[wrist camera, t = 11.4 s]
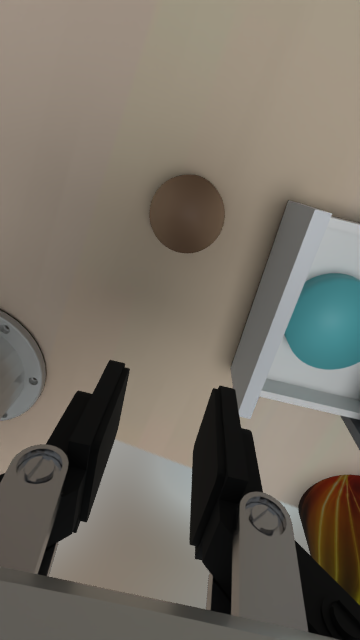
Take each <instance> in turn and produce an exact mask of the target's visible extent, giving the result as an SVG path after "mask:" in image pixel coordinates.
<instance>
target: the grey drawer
mask: <svg viewBox="0 0 360 640" xmlns="http://www.w3.org/2000/svg"><path fill="white" fill-rule="evenodd" d="M329 273H341V274H347V275H350V276H353V277H355V278H357V279H359V280H360V223H357V222H353V221H349V220H345V219H341V218H337V217H333V216H332V213H329V212H326V211H323V210H320V209H317V208H314V207H311V206H308V205H305V204H301V203H297V202H294V201H290V200H288V203H287V206H286V209H285V212H284V215H283V218H282V221H281V223H280V226H279V229H278V232H277V235H276V238H275V241H274V244H273V247H272V250H271V252H270V255H269V258H268V261H267V264H266V267H265V270H264V273H263V276H262V279H261V282H260V284H259V287H258V290H257V293H256V296H255V299H254V302H253V305H252V308H251V311H250V314H249V316H248V319H247V322H246V325H245V328H244V331H243V334H242V337H241V340H240V343H239V346H238V348H237V351H236V354H235V357H234V360H233V363H232V366H231V376H232V383H233V389H235V391H236V397H237V404H238V411H239V416H240V417H244V418H248V419H250V418H251V416H252V413H253V411H254V408H255V406H256V403H257V401H258V398H259V396H260V397H264V398H268V399H272V400H277V401H281V402H285V403H290V404H294V405H298V406H303V407H307V408H311V409H315V410H320V411H324V412H328V413H333V414H337V415H341V416H345V417H350V418H354V419H358V420H360V362H359V363H357V364H354V365H352V366H349V367H346V368H342V369H334V370H325V369H318V368H315V367H312V366H309V365H307V364H305V363H304V362H302V361H301V360H300V359H298V358H297V356H296V355H295V354H294V353H293V351H292V350H291V348H290V346H289V344H288V342H287V340H286V338H285V335H284V333H285V331H286V328H287V326H288V323H289V321H290V318H291V316H292V313H293V311H294V308H295V306H296V303H297V301H298V298H299V296H300V293H301V291H302V288H303V286H304V283H305V282H306V281H307V280H309V279H311V278H314V277H316V276H319V275H323V274H329Z"/></svg>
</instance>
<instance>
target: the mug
mask: <svg viewBox="0 0 360 640" xmlns="http://www.w3.org/2000/svg"><path fill="white" fill-rule="evenodd" d="M299 515H300V519H301V522H302V526H303V529H304V533H305V537H306V540H307V544H308V547H309V551H310V554H311V557H312V558H313V559H314V560H315V561H316V562H317V563H318V564H319V565H320V566H321V567H322V568H323V569H324V570H325V571H326V572H327V573H328V574H329V575H330V576H331V577H332V578H333V579H334V580H335V581H336V582H337V583H338V584H339V585H340V586H341V587H342V588H343V589H344V590H345V591H346V592H347V593H348V594H349V595H350V596H351V597H352V598H353V599H354V600H355V601H356V602H357V603H358V604H359V605H360V476H359V475H339V476H334V477H330V478H327V479H324V480H322V481H320V482H318V483H316V484H314V485H313V486H312V487H310V488H309V489H308V490H307V491H306V492H305V493H304V494H303V496H302V498H301V500H300V503H299Z"/></svg>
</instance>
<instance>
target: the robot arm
mask: <svg viewBox="0 0 360 640" xmlns="http://www.w3.org/2000/svg"><path fill="white" fill-rule="evenodd" d="M129 371H130V369H129V368H125V363H121V362H117V361H112V360H110V361H109V362H108V364H107V366H106V368H105V370H104V372H103V374H102V376H101V378H100V380H99V382H98V384H97V386H96V388H95V390H94V392H93V394H90V393H86V392H81V391H77V392H76V394H75V395H74V397H73V399H72V400H71V402H70V404H69V405H68V407H67V409H66V411H65V412H64V414H63V416H62V418H61V419H60V421H59V423H58V424H57V426H56V428H55V430H54V431H53V433H52V435H51V436H50V438H49V440H48V442H47V443H46V445H44V444H40V445H35V446H31V447H28V448H26V449H24V450H22V451H21V452H20V453H18V454H17V455H16V456H15V457H14V459H13V460H12V461H11V463H10V465H9V467H8V469H7V471H6V473H4V474H1V475H0V640H360V605H359V604H358V603H357V602H356V601H355V600H354V599H353V598H352V597H351V596H350V595H349V594H348V593H347V592H346V591H345V590H344V589H343V588H342V587H341V586H340V585H339V584H338V583H337V582H336V581H335V580H334V579H333V578H332V577H331V576H330V575H329V574H328V573H327V572H326V571H325V570H324V569H323V568H322V567H321V566H320V565H319V564H318V563H317V562H316V561H315V560H314V559H313V558H312V557H311V556H310V555H309V554H308V553H307V552H306V551H305V550H304V549H303V548H302V547H301V546H300V545H299V544H298V543H297V542H296V541H295V540H294V533H293V527H292V522H291V519H290V515H289V514H288V512H287V511H286V509H285V507H283V505H282V504H281V503H280V502H279V501H278V500H276V499H275V498H273V497H272V496H270V495H268V494H266V493H263V491H262V485H261V480H260V474H259V469H258V463H257V458H256V452H255V447H254V442H253V436H252V432H251V431H250V430H247V429H243V428H241V425H240V418H239V411H238V404H237V397H236V391H235V389H232V388H228V387H224V386H219V388H218V389H215V388H213V390H212V393H211V396H210V399H209V402H208V405H207V408H206V411H205V414H204V417H203V420H202V423H201V426H200V429H199V432H198V435H197V438H196V441H195V445H194V450H193V466H192V492H191V518H190V545H194V546H195V559H199V560H202V562H203V563H204V565H205V566H206V568H207V569H208V570H209V572H210V574H209V578H208V589H207V602H206V610H205V609H200V608H196V607H191V606H186V605H182V604H177V603H172V602H167V601H163V600H158V599H153V598H149V597H144V596H139V595H135V594H129V593H125V592H120V591H115V590H111V589H105V588H101V587H97V586H91V585H87V584H82V583H77V582H72V581H67V580H62V579H58V578H53V577H49V574H50V571H51V567H52V564H53V560H54V557H55V553H56V550H57V546H58V542H59V541H60V540H62V539H64V538H66V537H67V536H69V535H71V534H72V532H74V533H76V532H77V529H78V526H79V523H80V521H83V522H87V520H88V518H89V515H90V512H91V508H92V506H93V503H94V500H95V497H96V494H97V491H98V488H99V485H100V482H101V478H102V476H103V473H104V470H105V467H106V464H107V461H108V458H109V455H110V452H111V449H112V446H113V443H114V440H115V437H116V434H117V430H118V426H119V421H120V416H121V411H122V406H123V401H124V396H125V391H126V386H127V381H128V376H129ZM45 378H46V371H45V363H44V360H43V356H42V353H41V351H40V349H39V347H38V345H37V343H36V342H35V340H34V339H33V338H32V336H31V335H30V334H29V332H28V331H27V330H26V329H25V328H24V327H23V326H22V325H21V324H20V323H19V322H18V321H16V320H15V319H13V318H12V317H10V316H9V315H8V314H6V313H4V312H2V311H0V421H3V420H9V419H12V418H15V417H17V416H20V415H21V414H23V413H25V412H26V411H28V410H29V409H30V408H31V407H32V405H33V404H34V403H35V402H36V401H37V399H38V398H39V396H40V395H41V393H42V390H43V388H44V385H45Z"/></svg>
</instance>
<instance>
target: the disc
mask: <svg viewBox="0 0 360 640" xmlns="http://www.w3.org/2000/svg"><path fill="white" fill-rule="evenodd" d="M284 335H285V338H286V340H287V342H288V344H289V346H290V348H291V350H292V351H293V353H294V354H295V355H296V356H297V358H298V359H300V360H301V361H302V362H304V363H305V364H307V365H309V366H312V367H315V368H318V369H325V370H334V369H342V368H346V367H349V366H352V365H354V364H357V363H359V362H360V280H359V279H357V278H355V277H353V276H350V275H347V274H341V273H329V274H323V275H319V276H316V277H314V278H311V279H309V280H307V281H306V282H305V283H304V286H303V288H302V291H301V293H300V296H299V298H298V301H297V303H296V306H295V308H294V311H293V313H292V316H291V318H290V321H289V323H288V326H287V328H286V331H285V333H284Z"/></svg>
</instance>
